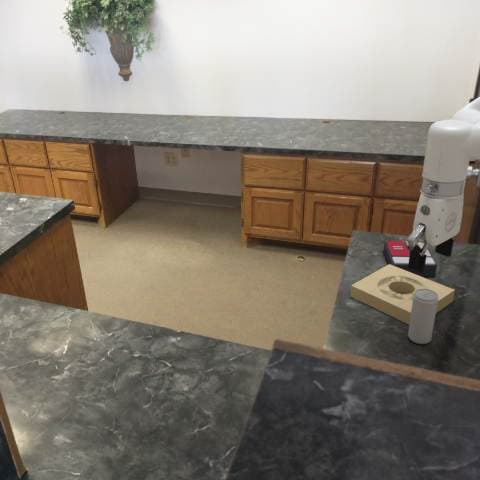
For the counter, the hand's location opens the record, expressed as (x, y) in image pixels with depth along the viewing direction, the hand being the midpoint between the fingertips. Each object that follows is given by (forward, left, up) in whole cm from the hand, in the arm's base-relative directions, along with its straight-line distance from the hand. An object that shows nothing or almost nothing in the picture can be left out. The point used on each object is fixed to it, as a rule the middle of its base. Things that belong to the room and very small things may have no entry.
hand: (429, 261), depth 107 cm
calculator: (+21, -29, -20) cm, 41 cm away
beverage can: (0, 0, -20) cm, 20 cm away
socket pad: (+12, -11, -20) cm, 26 cm away
